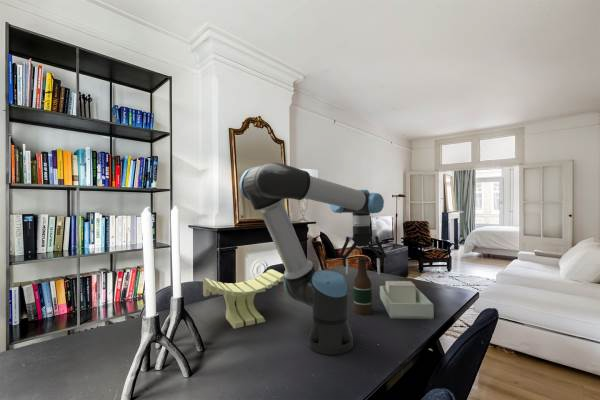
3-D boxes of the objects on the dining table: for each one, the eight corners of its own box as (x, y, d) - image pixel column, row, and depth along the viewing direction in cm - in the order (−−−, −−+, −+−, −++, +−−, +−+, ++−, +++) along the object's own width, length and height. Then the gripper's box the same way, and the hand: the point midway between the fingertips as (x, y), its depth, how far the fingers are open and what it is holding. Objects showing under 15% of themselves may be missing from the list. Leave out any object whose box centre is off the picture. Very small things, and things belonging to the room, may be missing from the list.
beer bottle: (370, 309, 131) (369, 255, 131) (373, 315, 123) (372, 258, 123) (353, 308, 132) (352, 255, 132) (354, 315, 124) (353, 258, 124)
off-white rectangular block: (389, 302, 136) (388, 285, 136) (385, 297, 144) (385, 280, 144) (415, 303, 135) (415, 285, 135) (411, 297, 143) (410, 281, 143)
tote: (390, 318, 120) (390, 303, 120) (380, 297, 146) (379, 285, 146) (433, 319, 118) (433, 304, 118) (415, 298, 144) (415, 286, 144)
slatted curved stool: (269, 306, 137) (269, 267, 137) (284, 317, 123) (284, 274, 123) (203, 319, 122) (202, 276, 123) (211, 333, 108) (211, 285, 109)
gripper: (389, 224, 130) (390, 271, 130) (332, 224, 133) (333, 271, 133) (392, 225, 123) (394, 276, 123) (332, 226, 125) (334, 276, 125)
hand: (362, 273), depth 128 cm, fingers open, 13 cm apart
